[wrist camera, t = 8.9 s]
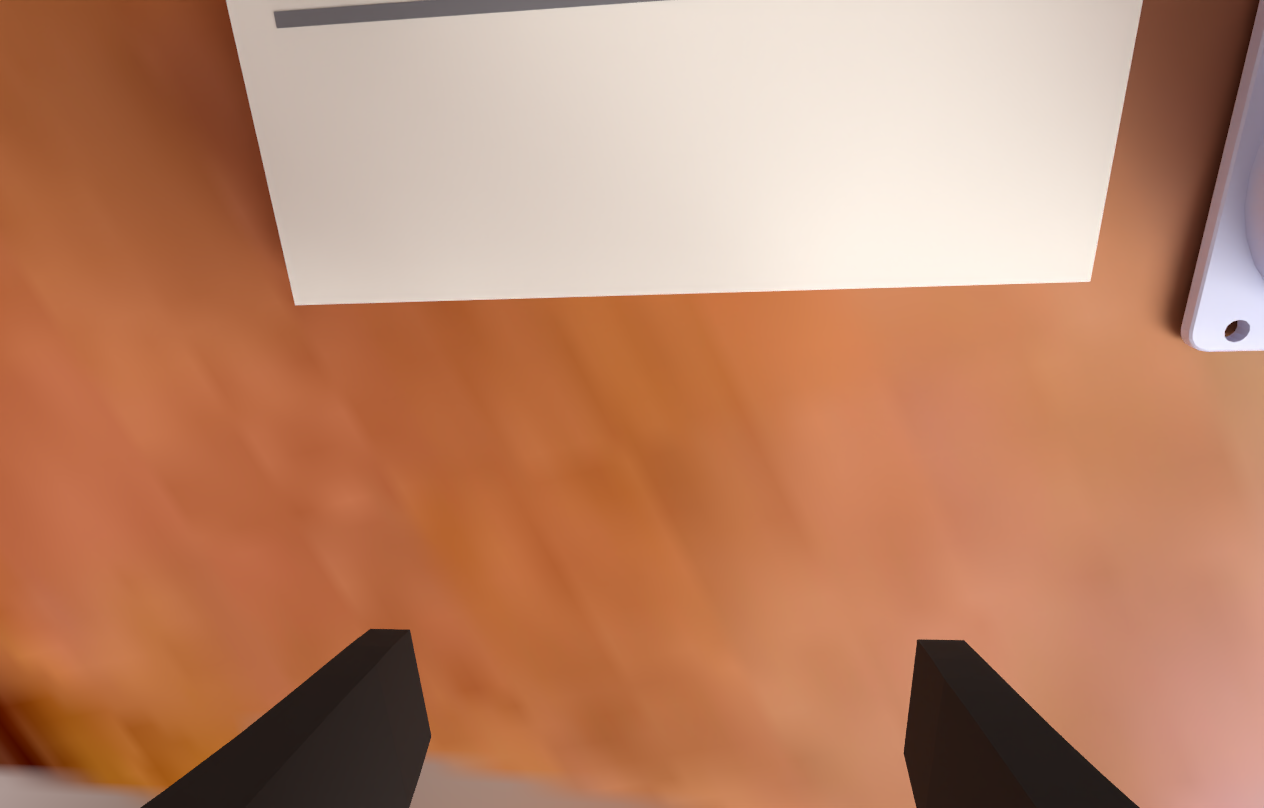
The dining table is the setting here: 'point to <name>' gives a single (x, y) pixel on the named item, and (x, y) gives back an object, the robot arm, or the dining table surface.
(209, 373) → the dining table surface
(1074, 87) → the board
